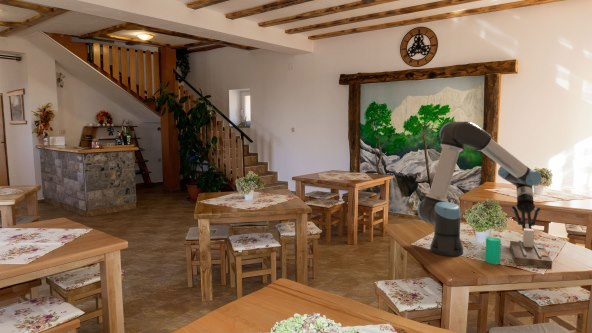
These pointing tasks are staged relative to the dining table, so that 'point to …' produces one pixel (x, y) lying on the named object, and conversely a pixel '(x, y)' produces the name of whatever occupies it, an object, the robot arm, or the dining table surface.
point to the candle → (492, 250)
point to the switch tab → (528, 237)
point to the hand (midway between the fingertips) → (527, 236)
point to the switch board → (530, 254)
